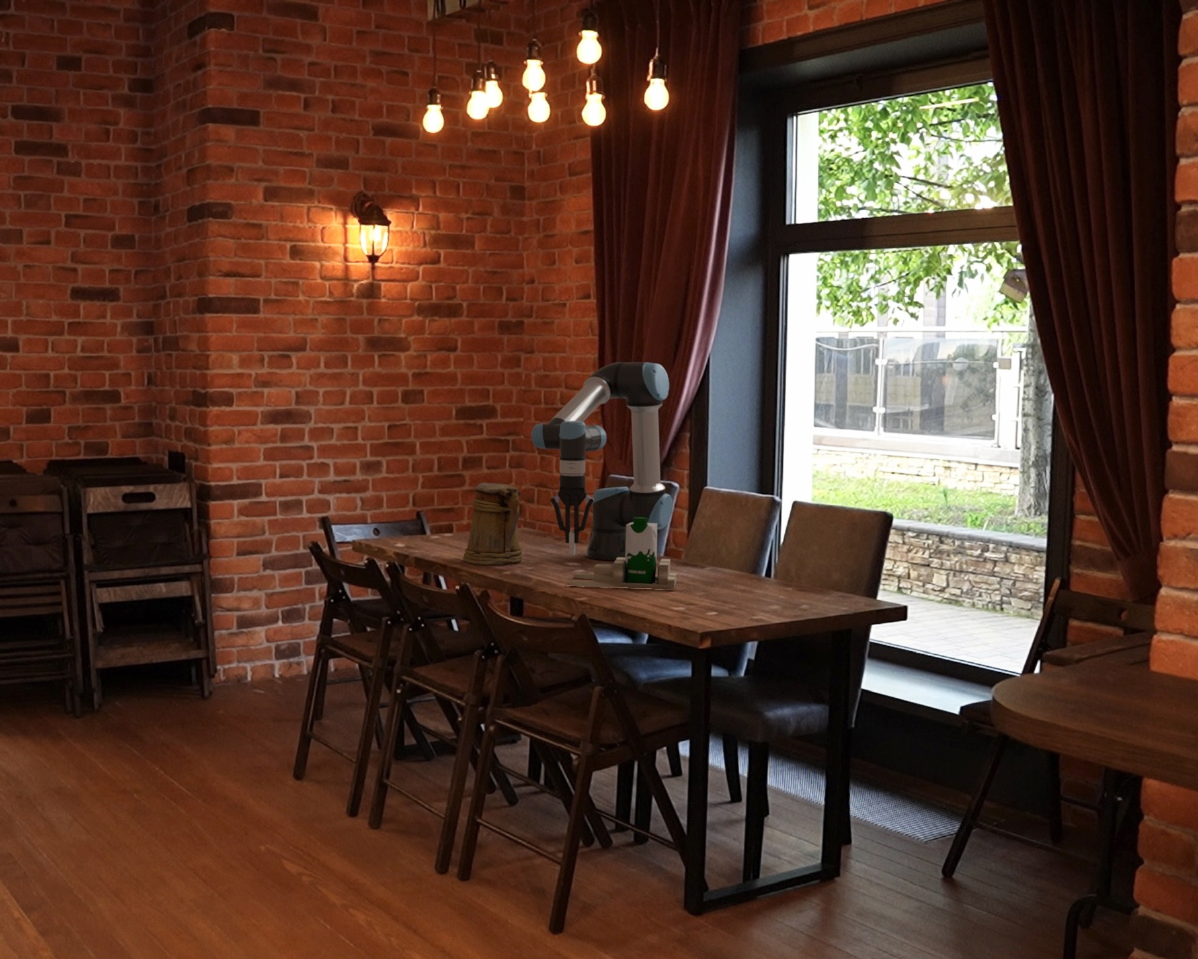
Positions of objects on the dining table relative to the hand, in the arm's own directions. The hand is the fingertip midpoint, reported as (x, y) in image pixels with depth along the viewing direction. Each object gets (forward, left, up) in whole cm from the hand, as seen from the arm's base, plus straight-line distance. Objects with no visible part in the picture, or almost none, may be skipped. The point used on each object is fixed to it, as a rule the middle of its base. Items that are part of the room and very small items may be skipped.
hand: (572, 554), depth 401 cm
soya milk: (+1, +20, -9) cm, 22 cm away
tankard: (-31, -28, -9) cm, 43 cm away
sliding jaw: (+1, +11, -8) cm, 14 cm away
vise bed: (+1, +15, -8) cm, 17 cm away
